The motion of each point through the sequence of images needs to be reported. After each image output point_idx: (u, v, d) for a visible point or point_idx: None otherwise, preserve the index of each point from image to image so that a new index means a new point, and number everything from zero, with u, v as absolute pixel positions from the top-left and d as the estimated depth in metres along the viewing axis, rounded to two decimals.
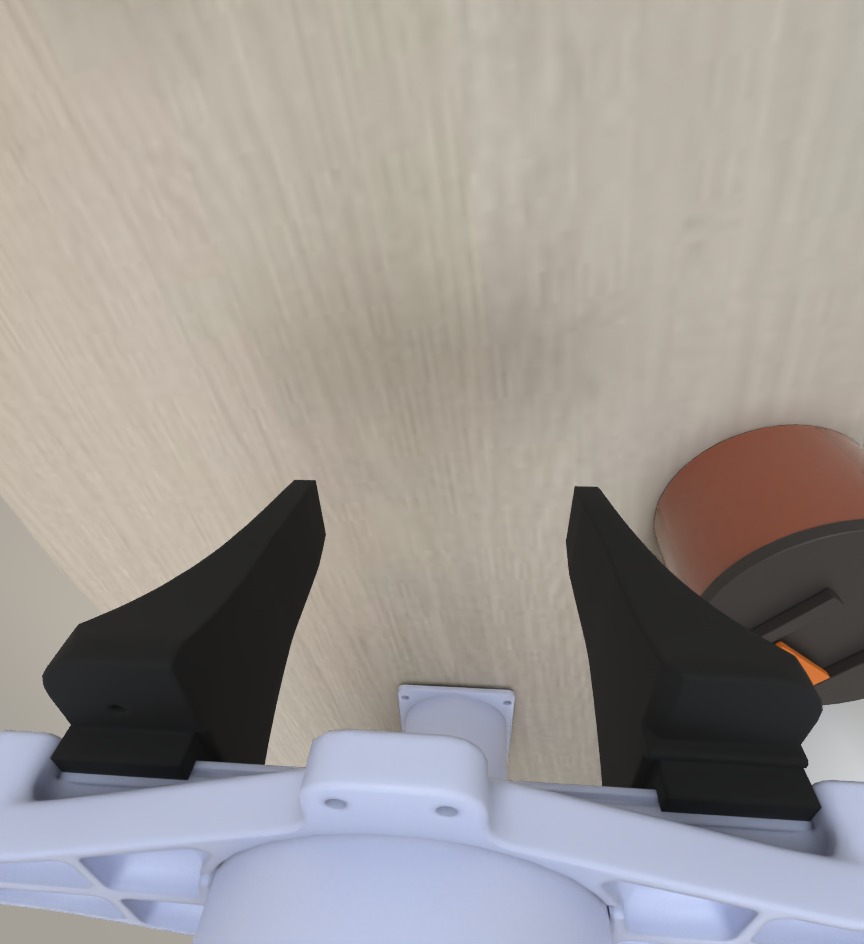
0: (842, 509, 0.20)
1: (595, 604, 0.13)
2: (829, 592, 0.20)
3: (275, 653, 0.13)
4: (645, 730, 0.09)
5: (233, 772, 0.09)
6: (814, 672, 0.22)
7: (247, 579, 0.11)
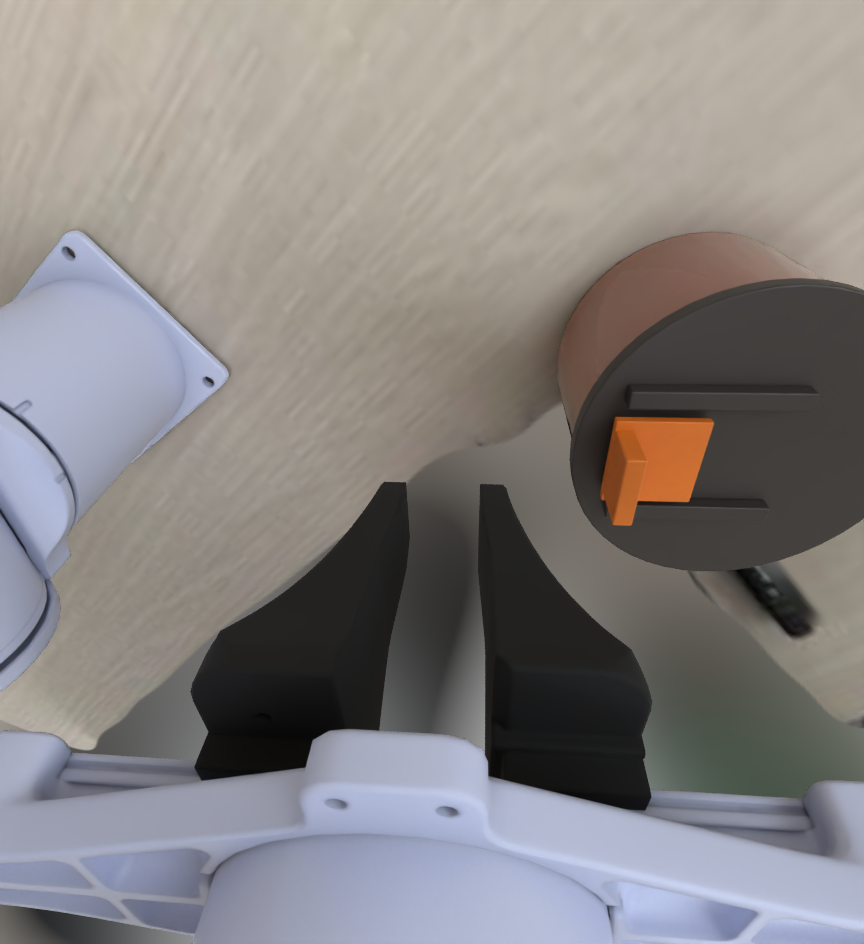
0: None
1: (486, 600, 0.13)
2: (814, 389, 0.16)
3: (380, 658, 0.13)
4: (494, 722, 0.09)
5: None
6: (688, 483, 0.17)
7: (369, 583, 0.11)
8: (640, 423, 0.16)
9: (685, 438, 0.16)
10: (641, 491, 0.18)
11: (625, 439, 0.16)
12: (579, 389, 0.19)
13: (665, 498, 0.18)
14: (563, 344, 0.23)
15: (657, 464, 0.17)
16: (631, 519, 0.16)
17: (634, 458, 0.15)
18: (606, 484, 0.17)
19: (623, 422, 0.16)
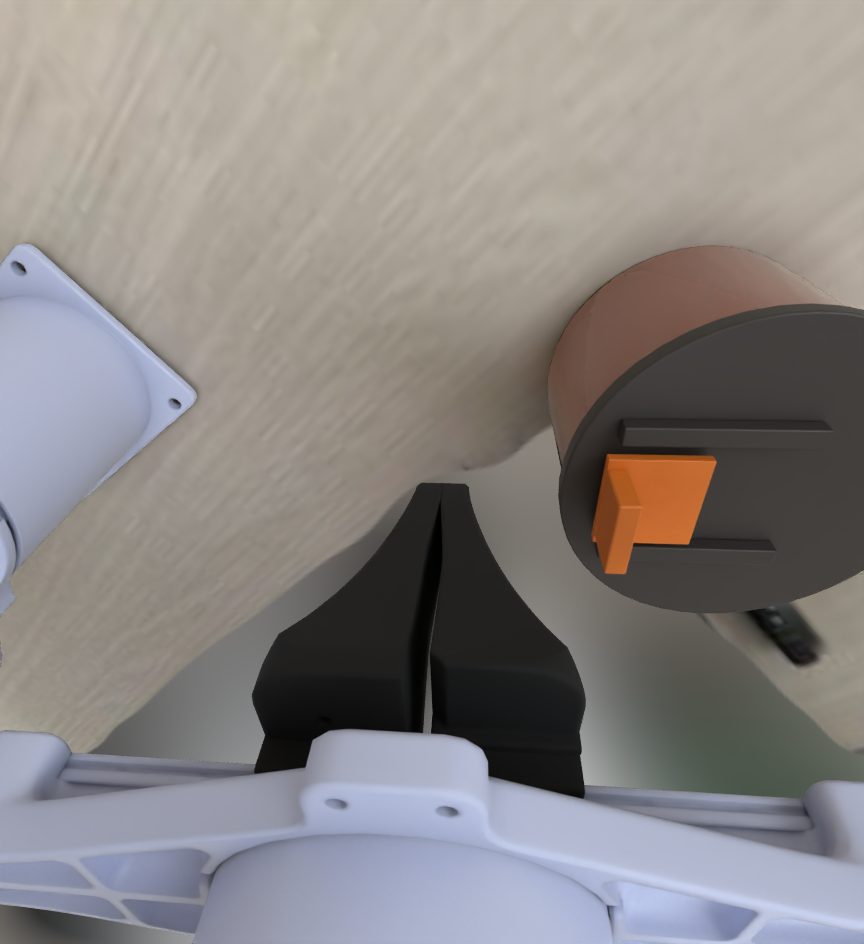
0: None
1: None
2: (827, 425, 0.14)
3: (424, 660, 0.13)
4: (435, 718, 0.09)
5: (233, 772, 0.09)
6: (688, 525, 0.16)
7: (419, 586, 0.11)
8: (635, 461, 0.15)
9: (684, 478, 0.15)
10: (636, 533, 0.16)
11: (618, 480, 0.14)
12: (568, 418, 0.17)
13: (663, 540, 0.16)
14: (553, 365, 0.21)
15: (654, 505, 0.15)
16: (625, 568, 0.15)
17: (628, 503, 0.14)
18: (598, 526, 0.16)
19: (616, 461, 0.15)
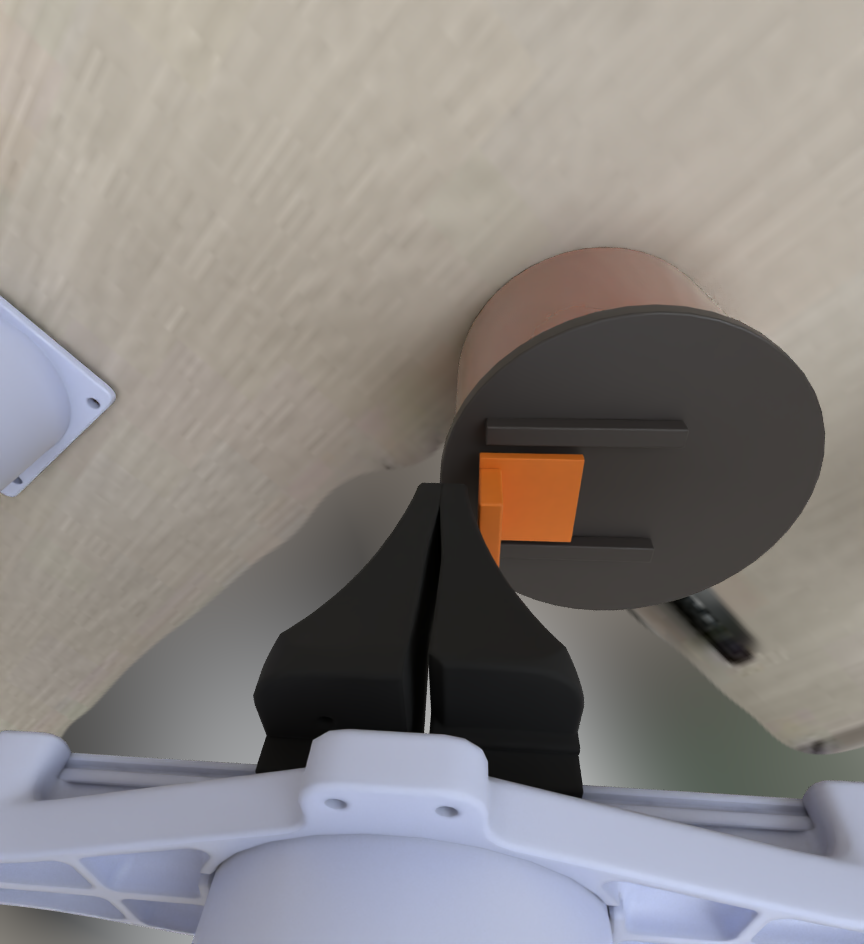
0: None
1: None
2: (684, 424, 0.14)
3: (425, 660, 0.13)
4: (433, 718, 0.09)
5: (233, 772, 0.09)
6: (567, 523, 0.16)
7: (420, 586, 0.11)
8: (505, 460, 0.15)
9: (555, 476, 0.15)
10: (518, 530, 0.16)
11: (487, 478, 0.15)
12: None
13: (545, 538, 0.16)
14: (459, 365, 0.21)
15: (530, 503, 0.16)
16: None
17: (489, 501, 0.14)
18: None
19: (487, 459, 0.15)
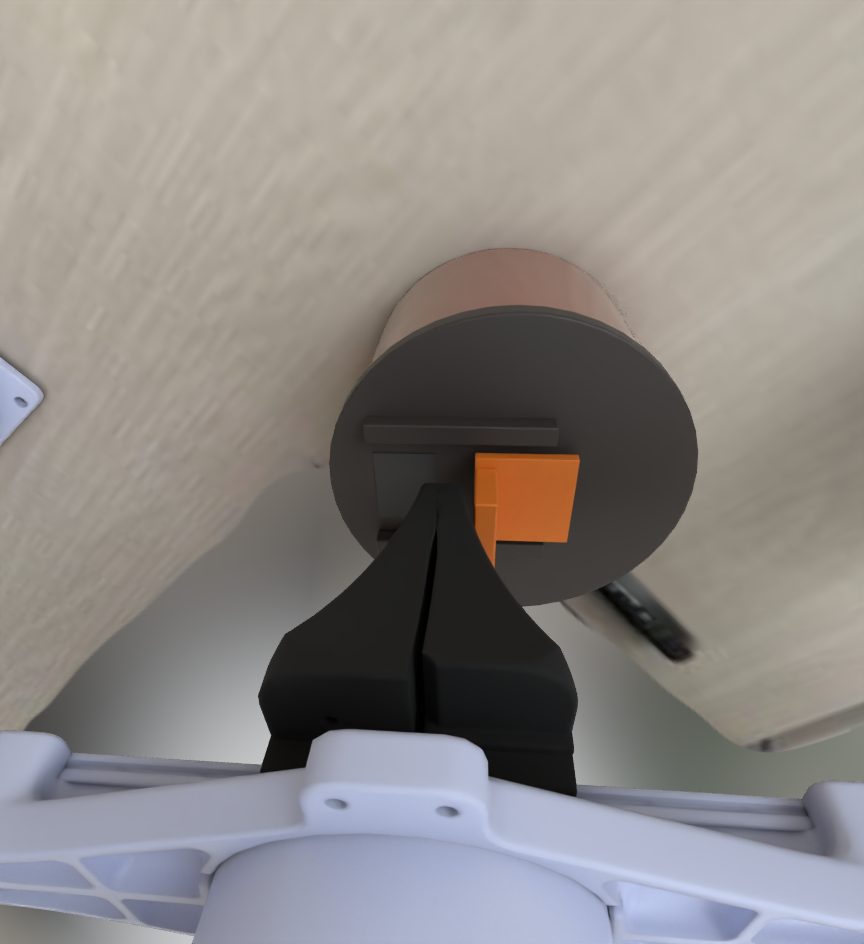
0: None
1: None
2: (556, 422, 0.14)
3: None
4: (427, 718, 0.09)
5: (233, 772, 0.09)
6: (562, 523, 0.16)
7: (424, 586, 0.11)
8: (500, 460, 0.15)
9: (551, 477, 0.15)
10: (514, 531, 0.16)
11: (482, 478, 0.15)
12: None
13: (541, 538, 0.16)
14: None
15: (526, 503, 0.16)
16: None
17: (484, 501, 0.14)
18: None
19: (483, 459, 0.15)
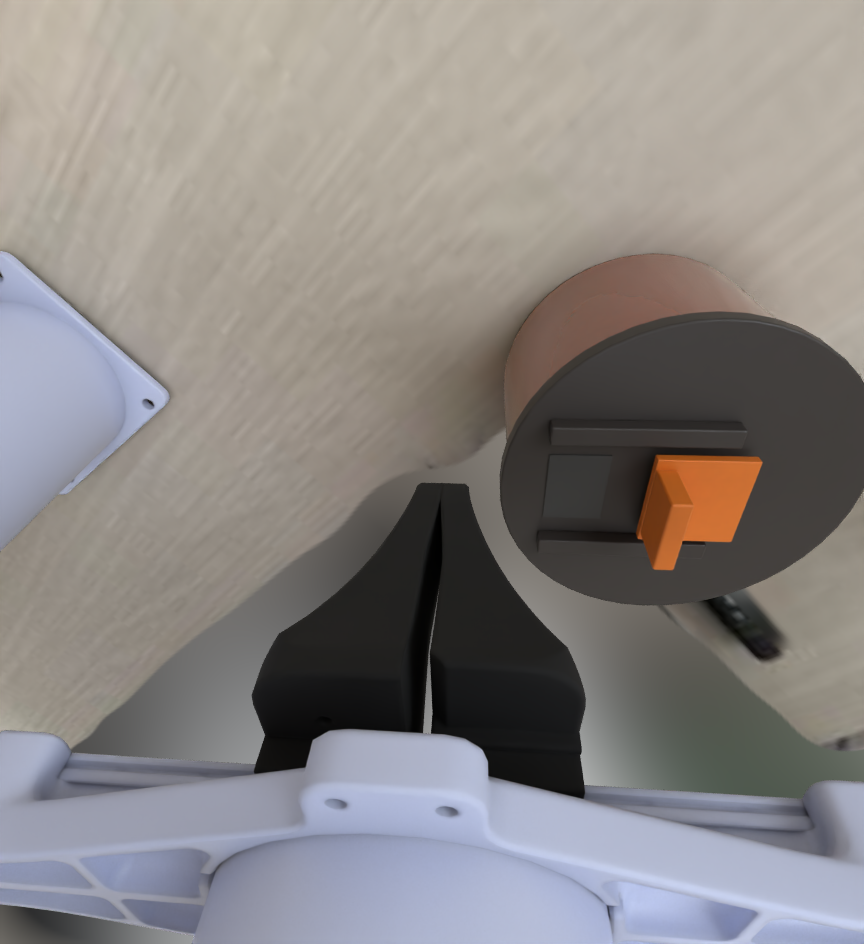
0: None
1: None
2: (742, 425, 0.15)
3: (424, 660, 0.13)
4: (435, 718, 0.09)
5: (233, 772, 0.09)
6: (731, 523, 0.16)
7: (419, 586, 0.11)
8: (683, 462, 0.15)
9: (730, 478, 0.15)
10: None
11: (668, 479, 0.15)
12: (512, 418, 0.18)
13: (706, 537, 0.17)
14: (507, 367, 0.22)
15: (699, 504, 0.16)
16: (673, 564, 0.15)
17: (679, 502, 0.14)
18: (644, 524, 0.16)
19: (665, 461, 0.15)
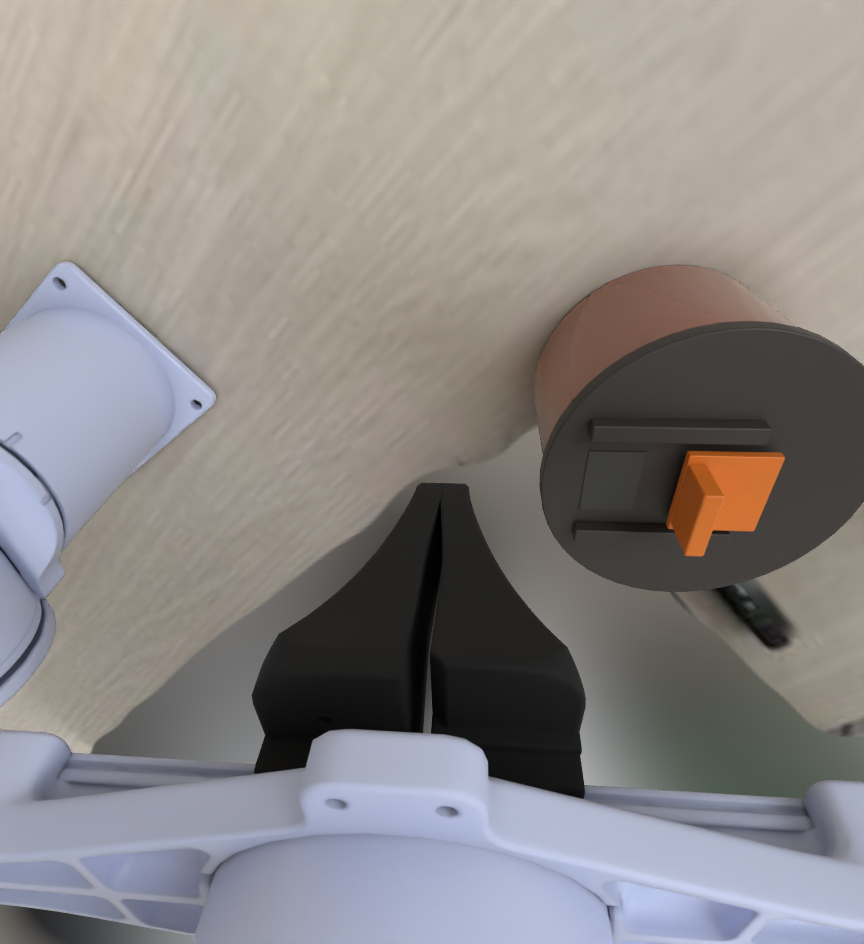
0: None
1: None
2: (767, 424, 0.16)
3: (424, 660, 0.13)
4: (435, 718, 0.09)
5: (233, 772, 0.09)
6: (754, 514, 0.18)
7: (419, 586, 0.11)
8: (713, 457, 0.17)
9: (755, 472, 0.17)
10: None
11: (699, 473, 0.16)
12: (549, 418, 0.20)
13: (731, 527, 0.18)
14: (538, 370, 0.23)
15: (726, 496, 0.17)
16: (703, 550, 0.17)
17: (711, 493, 0.16)
18: (675, 515, 0.18)
19: (696, 456, 0.17)
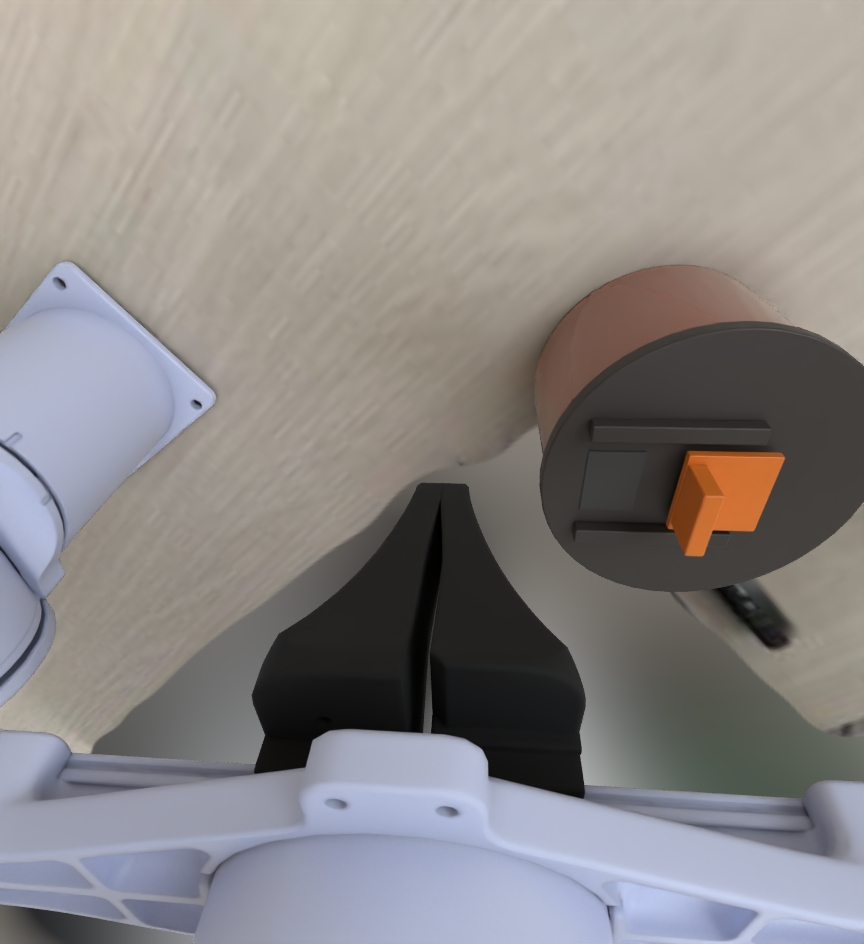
0: None
1: None
2: (767, 424, 0.16)
3: (424, 660, 0.13)
4: (435, 718, 0.09)
5: (233, 772, 0.09)
6: (754, 514, 0.18)
7: (419, 586, 0.11)
8: (713, 457, 0.17)
9: (755, 472, 0.17)
10: None
11: (699, 473, 0.16)
12: (549, 418, 0.20)
13: (731, 527, 0.18)
14: (538, 370, 0.23)
15: (726, 496, 0.17)
16: (703, 550, 0.17)
17: (711, 493, 0.16)
18: (675, 515, 0.18)
19: (696, 456, 0.17)
